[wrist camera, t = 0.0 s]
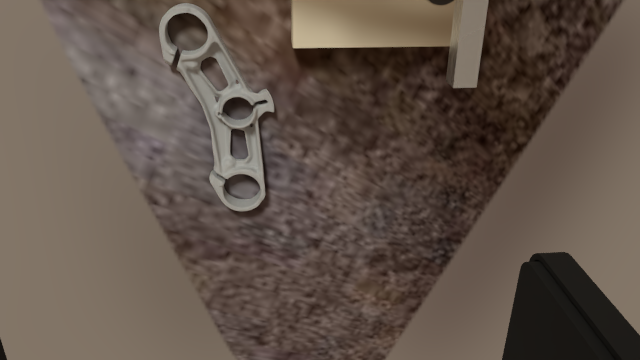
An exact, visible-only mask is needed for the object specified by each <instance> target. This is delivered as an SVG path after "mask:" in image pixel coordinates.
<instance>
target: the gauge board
mask: <svg viewBox="0 0 640 360" xmlns="http://www.w3.org/2000/svg"><path fill="white" fill-rule="evenodd" d="M454 6H455V0H291V42H292V46H293V48H352V47H433V46H450V41H451V32H452V23H453V14H454Z"/></svg>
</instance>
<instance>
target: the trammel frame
mask: <svg viewBox="0 0 640 360" xmlns="http://www.w3.org/2000/svg"><path fill="white" fill-rule="evenodd" d="M488 1H489V0H455V6H454V14H453V23H452V32H451V41H450V50H449V59H448V67H447V76H446V81H447V82H448V83H449V84H450V85H451V86H452V87H453V88H477V80H478V73H479V66H480V59H481V52H482V44H483V37H484V30H485V23H486V15H487V8H488Z"/></svg>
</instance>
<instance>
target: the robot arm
mask: <svg viewBox="0 0 640 360" xmlns="http://www.w3.org/2000/svg"><path fill="white" fill-rule="evenodd" d="M0 360H7V358H6V355H5V352H4V349H3V346H2V342H1V340H0ZM502 360H640V335H639V334H638V333H637V332H636V331H635V330H634V328H633V327H632V326H631V325H630V324H629V323H628V321H627V320H626V319H625V318H624V317H623V316H622V314H621V313H620V312H619V311H618V310H617V309H616V307H615V306H614V305H613V304H612V303H611V302H610V300H609V299H608V298H607V297H606V296H605V295H604V294H603V292H602V291H601V290H600V289H599V288H598V287H597V285H596V284H595V283H594V282H593V281H592V280H591V278H590V277H589V276H588V275H587V274H586V273H585V271H584V270H583V269H582V268H581V267H580V266H579V265H578V263H577V262H576V261H575V260H574V259H573V258H572V256H570V255H569V254H568V253H565V252H558V253H537V254H534V255H532V257H531V258H530V261H529V262H525V263H523V264H522V266H521V269H520V274H519V279H518V283H517V289H516V293H515V298H514V304H513V309H512V314H511V318H510V323H509V328H508V333H507V338H506V343H505V348H504V353H503V358H502Z"/></svg>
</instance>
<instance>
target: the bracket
mask: <svg viewBox="0 0 640 360" xmlns="http://www.w3.org/2000/svg"><path fill="white" fill-rule="evenodd" d="M179 13H191V14H194V15H196V16H197V17H198V18H199V19H200V20H201V21H202V22H203V23H204V24H205V26H206V28H207V31H208V39H207V41H206V43H205V44H204V45H203V46H202V47H201V48H199V49H197V50H193V51H186V50H183V51H182V53H181V56H180V59H179V62H178V65H177V70H178V71H179V72H180V73H181V74H182V76H183V77H184V79H185V80H186V82H187V84H188V86H189V87H190V89H191V90H192V92H193V93H194V95H195V96H196V98H197V99H198V101H199V102H200V104H201V105H202V107H203V110H204V112H205V115H206V118H207V121H208V123H209V126H210V130H211V137H212V146H213V154H214V162H215V165H214V170H212V171H211V173H210V177H209V179H210V182H211V184H212V186H213V188H214V189H215V191H216V192H217V194H218V196H219V198H220V199H221V201H222V202H223V203H224V204H225V205H226V206H227V207H228V208H230V209H232V210H235V211H249V210H252V209H254V208H256V207H257V206H259V204H260V203H261V202H262V200H263V199H264V197H265V182H264V170H263V162H262V151H261V142H260V133H259V124H258V118H259V117H260V116H261V115H262V114H263V113H264V112H266V111H269V112H274V103H273V100H272V97H271V95H270V93H269V92H268V90H267V89H264V90H262V91H260V92H259V93H258V94H256V93H253V92H252V90H251V89H250V88H249V87H248V85H247V84H246V82H245V80H244V78H243V76H242V75H241V73H240V71H239V69H238V67H237V65H236V64H235V62H234V60H233V59H232V57H231V55H230V53H229V52H228V50H227V48H226V46H225V45H224V43H223V41H222V39H221V37H220V35H219V33H218V31H217V29H216V27H215V26H214V24H213V22H212V20H211V18H210V17H209V15H208V14H207V13H206V12H205V11H204V10H203V9H201V8H200V7H198V6H196V5H193V4H188V3H184V4H178V5H176V6H174V7H172V8H171V9H169V10H168V11H167V13H166V14H165V15H164V16H163V18H162V20H161V22H160V26H159V35H160V41H161V47H162V53H163V58H164V61H165V63H167V64H169V65H171V66H172V63H173V61H174V58H175V55H176V51H177V47H176V46H175V45H174V44H173V43H172V42H171V40H170V37H169V35H168V29H167V26H168V22H169V19H170V18H171V17H173V16H174V15H176V14H179ZM208 57H213V58H215V59H216V60H217V61H218V63H219V65H220V67H221V69H222V71H223V74H224V76H225V78H226V80H227V82H228V86H227V87H226V88H225V89H224V90H222V91H217V90H216V88H215V87H214V86H213V85H212V83H211V82H210V81H209V80H208V78H207V77H206V76H205V75H204V73H203V72H202V71H201V68H200V67H201V62H202V61H203V60H204V59H206V58H208ZM235 79H237V80H238V81H239V84H238V85H237V84H236V83H235ZM214 96H217V97H219V101H218V103H216V100H215V97H214ZM234 97H241V98H244V99H246V100H247V101H248V102H249V103H250V104H251V105H254V106H253V111H252V113H251V115H250V116H249V117H248V118H246V119H243V120H234V119H232V118H230V117H229V116H228V115H227V114H226V113H225V112H223V106H224V104H225V102H226V101H227V100H229V99H231V98H234ZM262 100H267V101H265V102H261V103H255V102H258V101H262ZM254 103H255V104H254ZM224 123H225V124H226V125H225V124H224ZM250 124H253V127H250V126H249V125H250ZM232 129H240V130H243V131H244V132H245V137H246V143H247V148H248V154H249V155H248V157H247V158H246V159H235V158H234V157H233V156H232V155H231V153H230V143H231V130H232ZM237 174H246V175H249V176H251V177H253V178H254V179H255V180H256V181H257V182H258V183H259V185H260V191H259V192H258V194H257V195H256V196H254V197H253V198H251V199H237V198H234V197H232V196H231V195H229V194H228V193H227V191H226V190H225V188H224V183H225V178H226V179H228V178H230V177H231V176H234V175H237Z"/></svg>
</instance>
